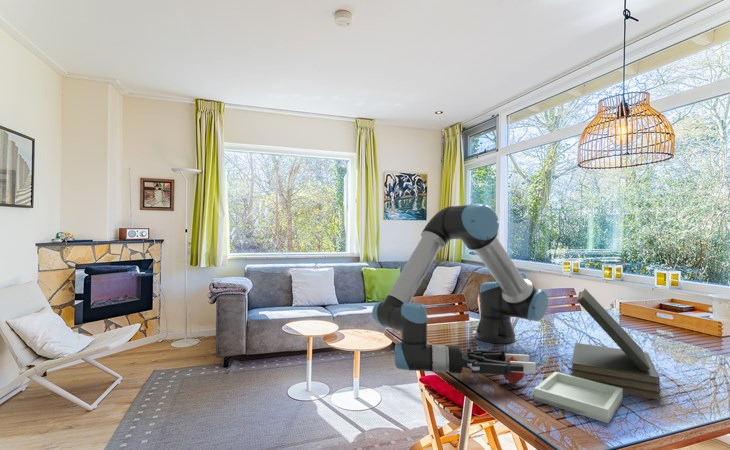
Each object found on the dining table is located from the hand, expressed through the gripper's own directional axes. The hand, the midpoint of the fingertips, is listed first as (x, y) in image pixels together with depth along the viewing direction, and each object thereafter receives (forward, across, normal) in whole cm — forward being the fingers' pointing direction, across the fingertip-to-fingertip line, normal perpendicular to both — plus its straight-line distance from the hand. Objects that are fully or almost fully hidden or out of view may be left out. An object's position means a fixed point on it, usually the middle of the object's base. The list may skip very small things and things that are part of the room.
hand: (532, 363), depth 101 cm
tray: (+9, +8, -6) cm, 13 cm away
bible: (+25, -10, -7) cm, 28 cm away
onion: (-5, 0, -6) cm, 8 cm away
